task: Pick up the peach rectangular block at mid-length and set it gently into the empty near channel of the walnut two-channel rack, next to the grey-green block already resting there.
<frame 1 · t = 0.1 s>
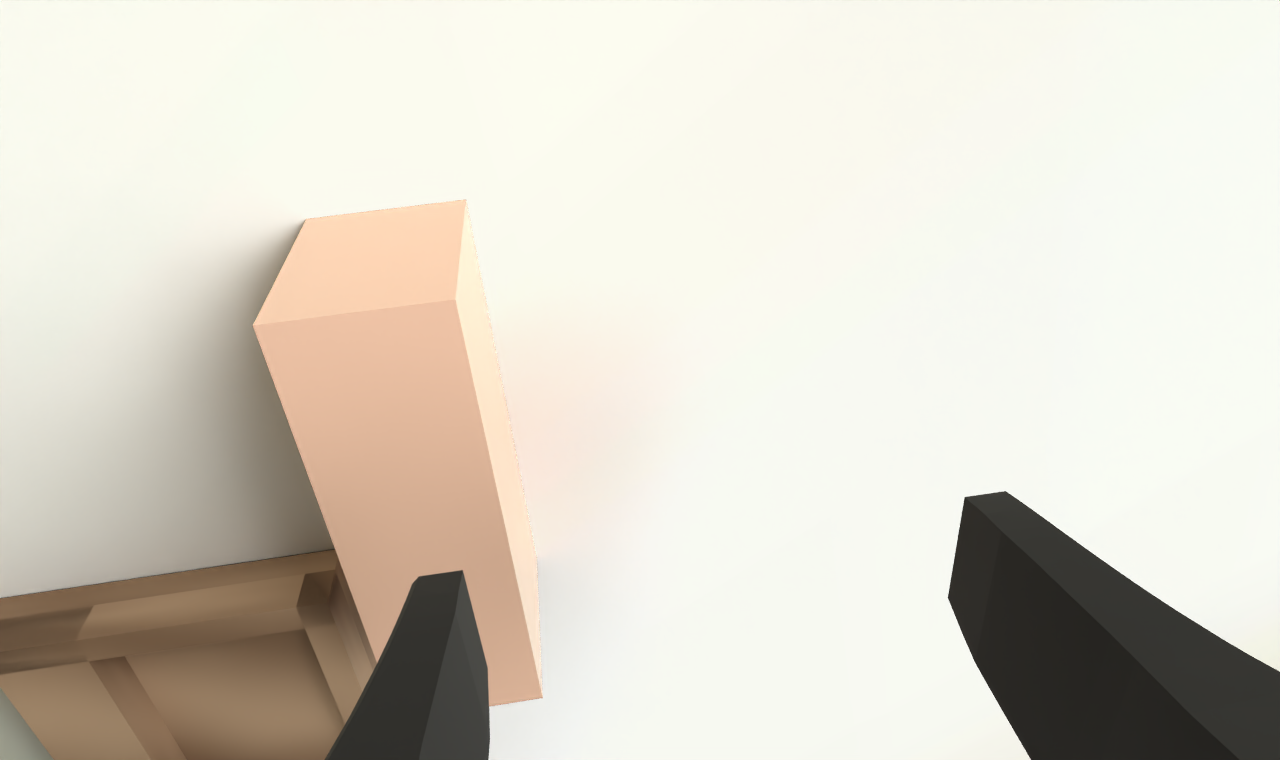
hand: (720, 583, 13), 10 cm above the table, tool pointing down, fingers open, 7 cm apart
rack: (163, 756, 28), on the table
peach rectangular block: (438, 408, 22), on the table
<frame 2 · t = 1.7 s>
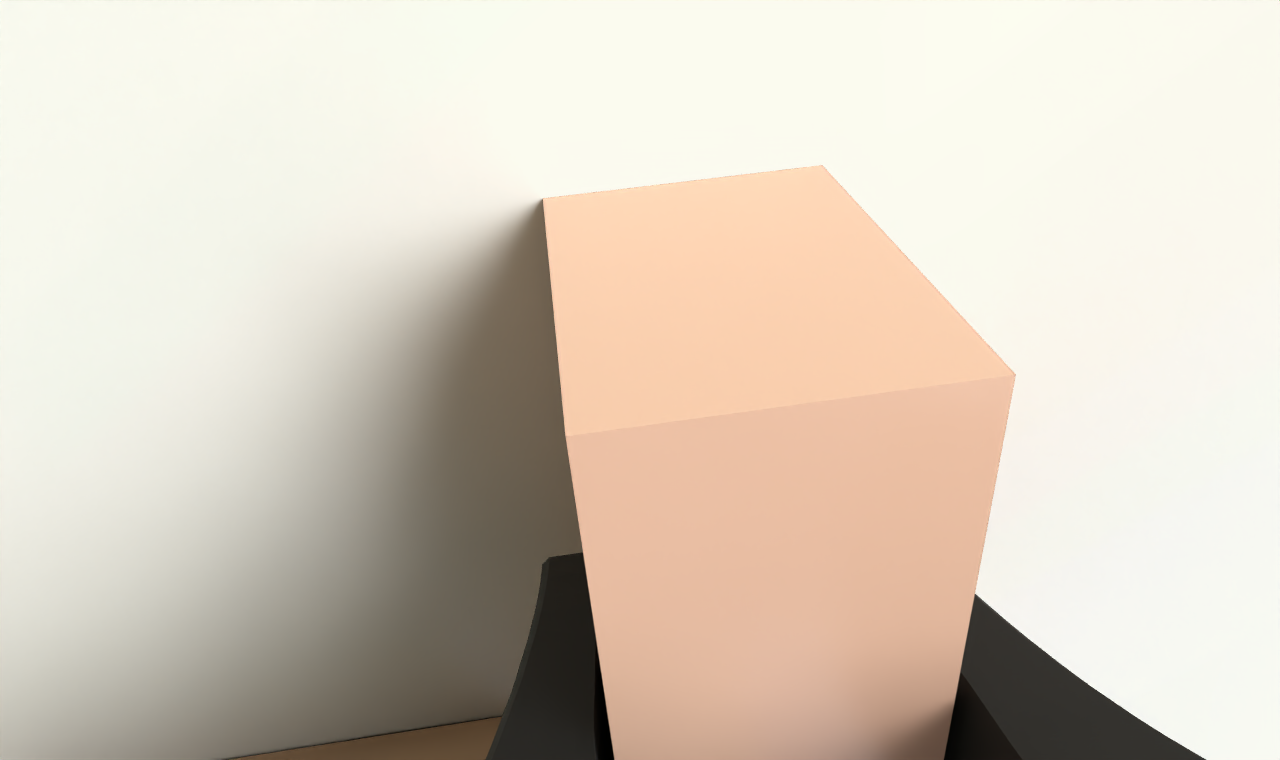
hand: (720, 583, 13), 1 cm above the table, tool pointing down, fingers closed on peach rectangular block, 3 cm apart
peach rectangular block: (700, 515, 14), on the table, touching gripper
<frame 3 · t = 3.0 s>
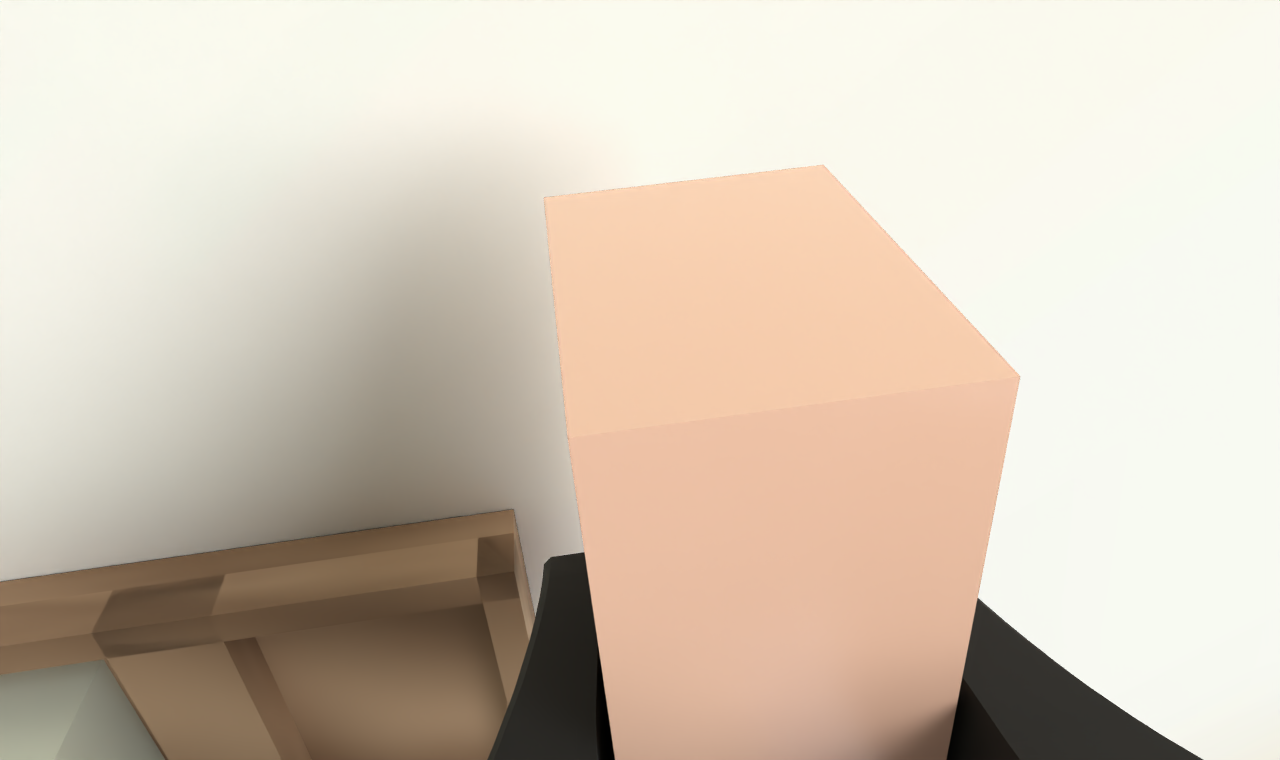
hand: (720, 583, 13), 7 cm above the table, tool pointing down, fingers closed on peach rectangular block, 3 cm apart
rack: (279, 756, 24), on the table
peach rectangular block: (700, 516, 14), point 5 cm above the table, touching gripper
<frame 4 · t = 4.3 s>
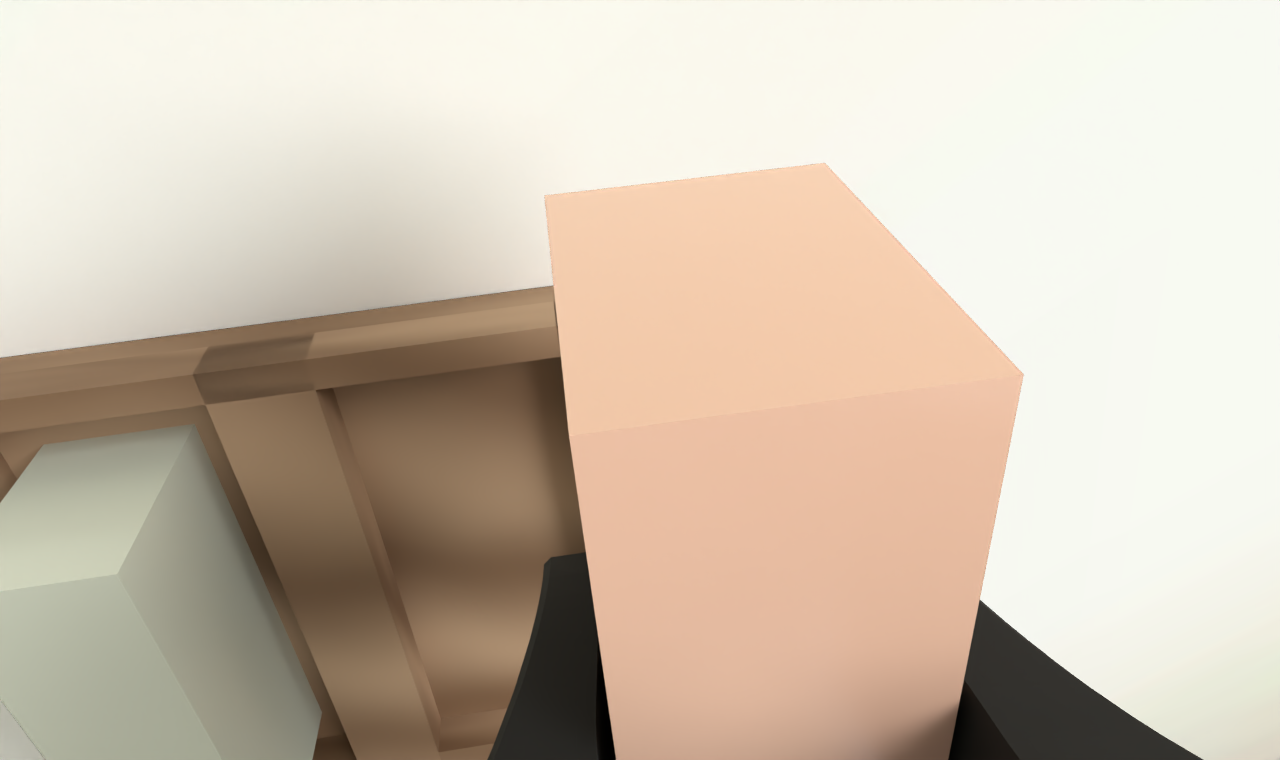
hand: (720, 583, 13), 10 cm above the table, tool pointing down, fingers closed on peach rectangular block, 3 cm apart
rack: (351, 553, 25), on the table
peach rectangular block: (701, 515, 14), point 9 cm above the table, touching gripper
grey-green block: (200, 596, 24), point 1 cm above the table, touching rack
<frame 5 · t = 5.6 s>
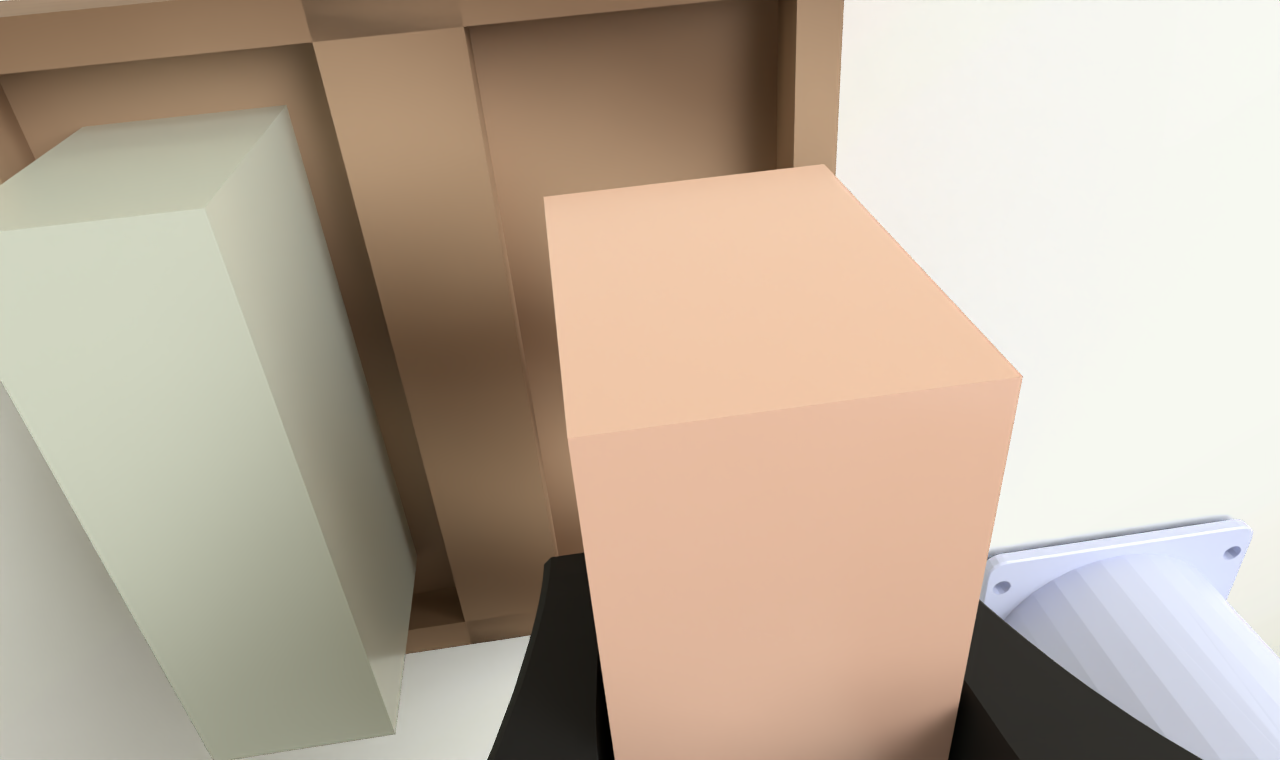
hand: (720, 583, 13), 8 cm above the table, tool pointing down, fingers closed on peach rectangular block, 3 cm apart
rack: (468, 335, 19), on the table
peach rectangular block: (701, 516, 14), point 7 cm above the table, touching gripper
grey-green block: (278, 378, 18), point 1 cm above the table, touching rack
when the fingers open (4 cm above the table, at t = 6.7 s): peach rectangular block drops 2 cm, resting on rack.
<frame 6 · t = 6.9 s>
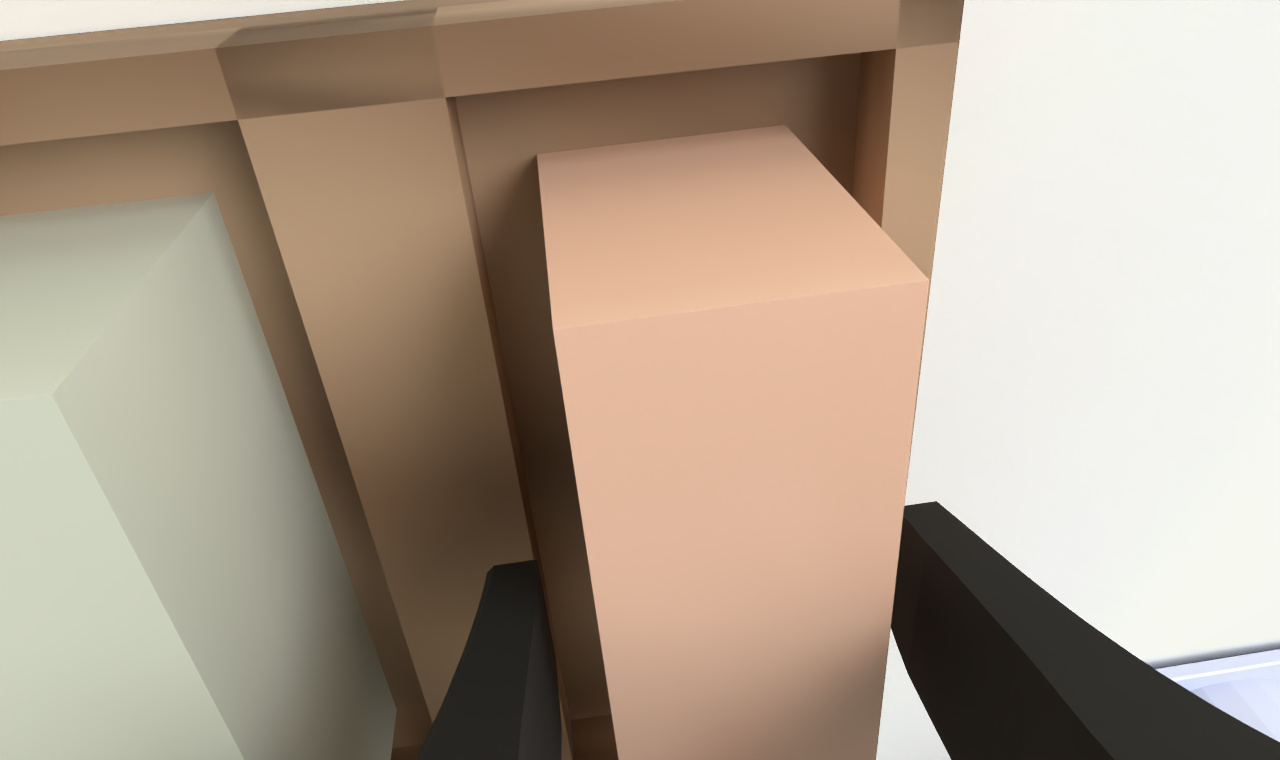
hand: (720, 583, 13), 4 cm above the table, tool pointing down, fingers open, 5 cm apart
rack: (456, 456, 16), on the table
peach rectangular block: (682, 452, 15), point 1 cm above the table, touching rack
grey-green block: (217, 517, 15), point 1 cm above the table, touching rack
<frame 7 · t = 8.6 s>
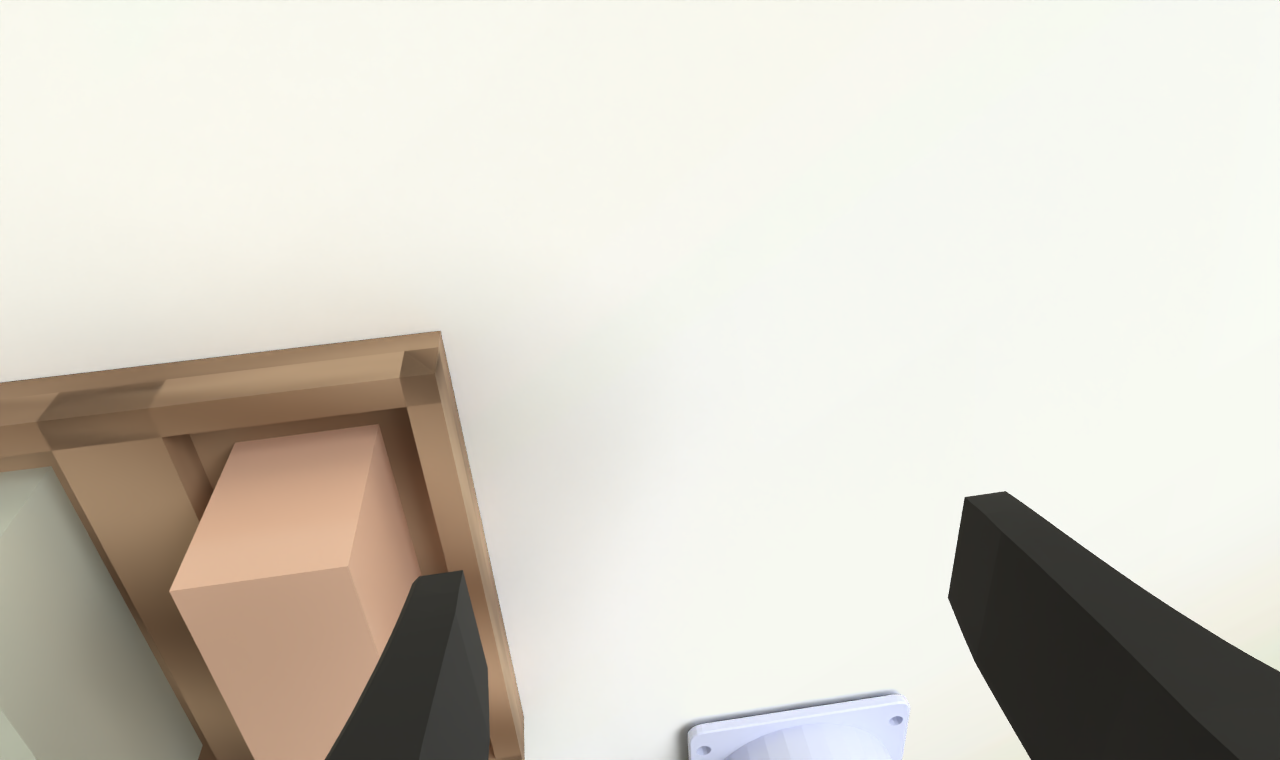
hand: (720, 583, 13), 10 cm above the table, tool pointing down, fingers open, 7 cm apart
rack: (225, 590, 25), on the table
peach rectangular block: (361, 591, 25), point 1 cm above the table, touching rack
grey-green block: (70, 631, 24), point 1 cm above the table, touching rack
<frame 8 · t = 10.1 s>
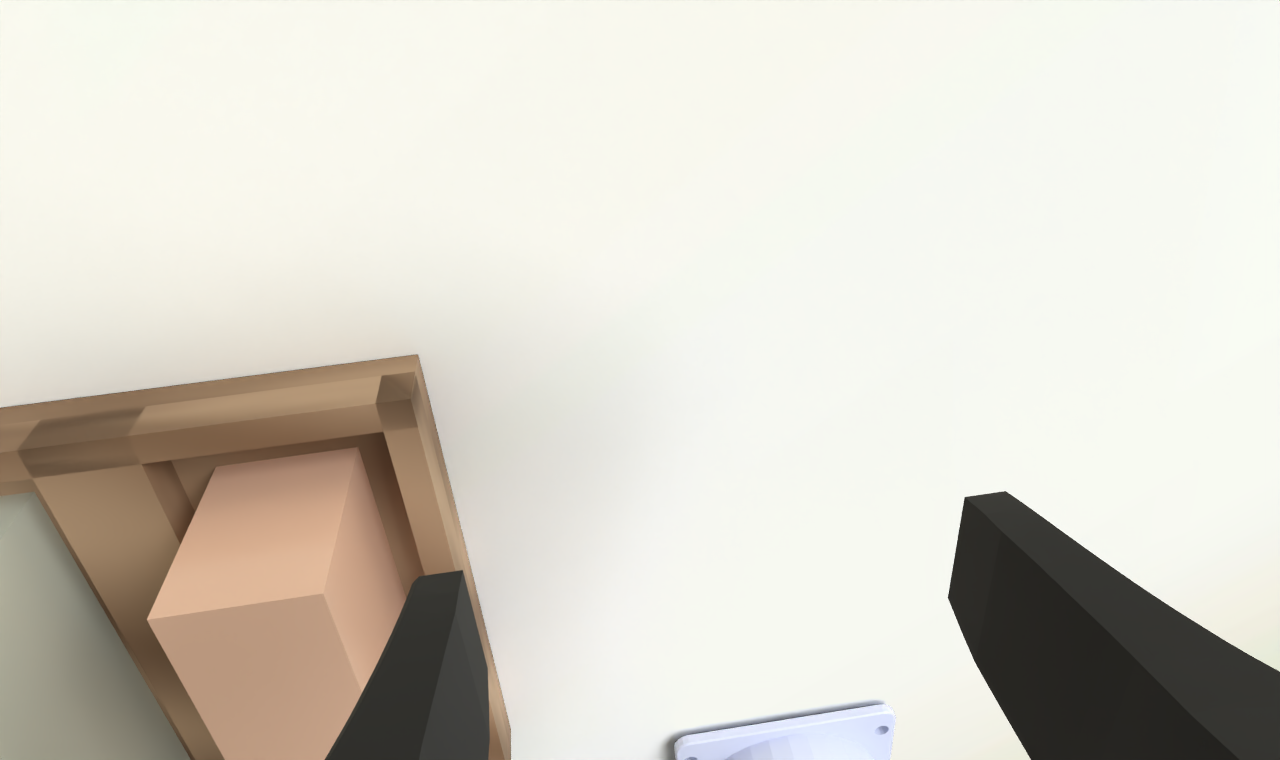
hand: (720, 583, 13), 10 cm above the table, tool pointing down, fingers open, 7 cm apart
rack: (211, 609, 25), on the table
peach rectangular block: (344, 609, 25), point 1 cm above the table, touching rack
grey-green block: (57, 652, 24), point 1 cm above the table, touching rack
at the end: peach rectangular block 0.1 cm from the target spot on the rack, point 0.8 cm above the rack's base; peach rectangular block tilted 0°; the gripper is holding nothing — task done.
